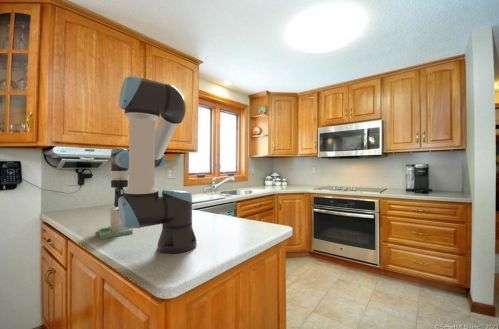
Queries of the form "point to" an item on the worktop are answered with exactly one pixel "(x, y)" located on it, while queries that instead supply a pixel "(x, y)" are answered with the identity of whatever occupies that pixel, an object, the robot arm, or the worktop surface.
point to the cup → (115, 221)
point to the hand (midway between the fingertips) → (119, 221)
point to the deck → (106, 233)
